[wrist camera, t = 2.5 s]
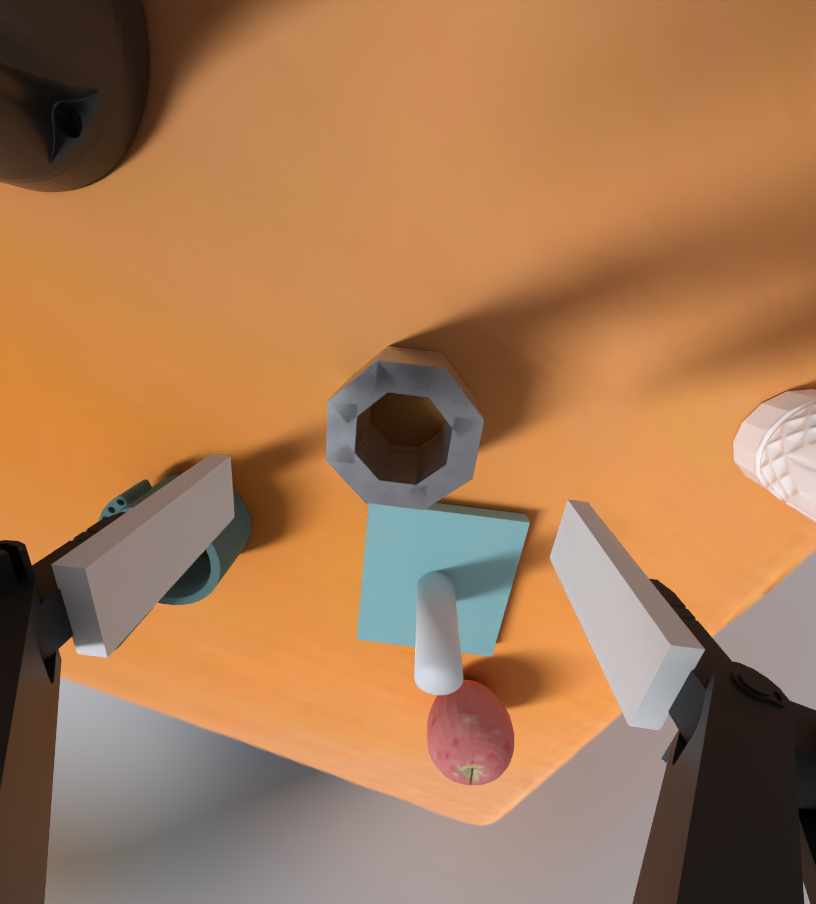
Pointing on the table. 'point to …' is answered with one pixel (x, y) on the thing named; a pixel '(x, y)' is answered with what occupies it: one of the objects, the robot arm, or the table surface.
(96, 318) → the table surface
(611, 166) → the table surface
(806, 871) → the robot arm
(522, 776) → the table surface
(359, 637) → the stand
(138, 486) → the bracket
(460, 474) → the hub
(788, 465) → the white cup
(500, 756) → the apple
